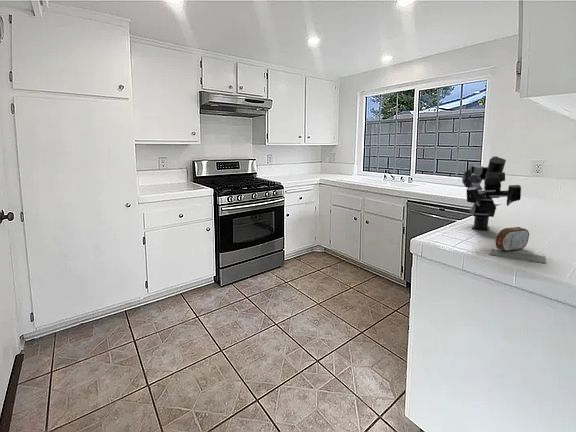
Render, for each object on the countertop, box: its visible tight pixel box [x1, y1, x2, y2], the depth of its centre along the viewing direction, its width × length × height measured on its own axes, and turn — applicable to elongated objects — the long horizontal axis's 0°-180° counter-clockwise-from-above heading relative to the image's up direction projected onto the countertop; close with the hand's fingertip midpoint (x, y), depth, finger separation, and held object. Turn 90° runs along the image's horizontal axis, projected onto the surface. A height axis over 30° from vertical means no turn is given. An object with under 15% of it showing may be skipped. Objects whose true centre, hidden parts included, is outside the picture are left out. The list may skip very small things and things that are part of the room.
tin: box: [495, 226, 530, 252], centre depth 121 cm, size 15×3×8 cm, turn 111°
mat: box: [489, 248, 546, 264], centre depth 115 cm, size 8×16×1 cm, turn 52°
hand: (493, 205), depth 127 cm, fingers open, 9 cm apart
